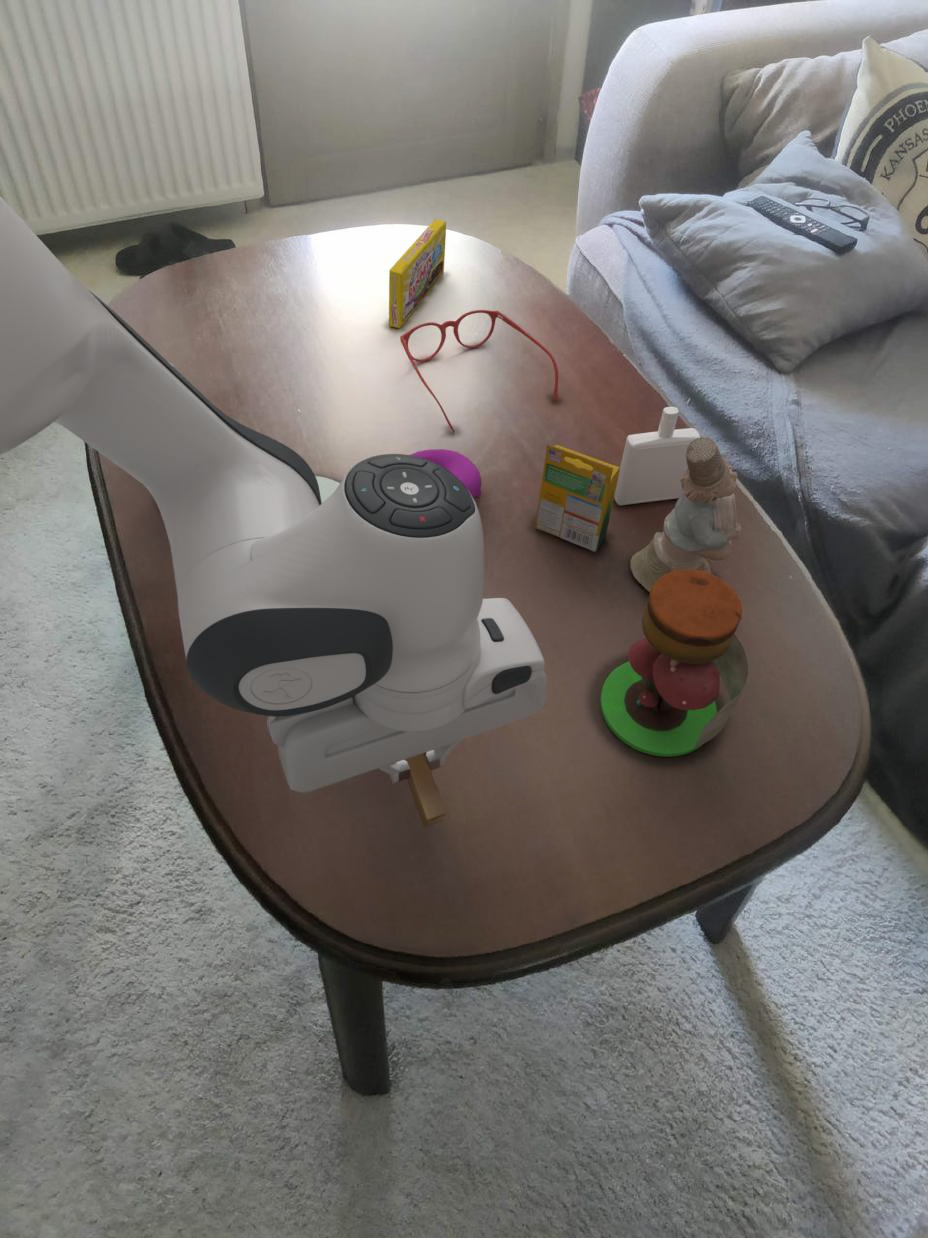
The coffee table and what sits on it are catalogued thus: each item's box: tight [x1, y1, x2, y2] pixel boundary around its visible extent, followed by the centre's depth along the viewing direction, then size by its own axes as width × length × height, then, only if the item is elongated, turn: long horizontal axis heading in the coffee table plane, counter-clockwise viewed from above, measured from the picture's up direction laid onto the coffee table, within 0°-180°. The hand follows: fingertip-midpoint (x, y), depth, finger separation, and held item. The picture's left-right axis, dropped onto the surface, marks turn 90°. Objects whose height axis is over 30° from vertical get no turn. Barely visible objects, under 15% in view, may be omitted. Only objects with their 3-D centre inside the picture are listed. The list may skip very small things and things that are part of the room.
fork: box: [405, 753, 447, 828], centre depth 71 cm, size 4×18×3 cm, turn 22°
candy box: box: [388, 218, 447, 329], centre depth 121 cm, size 16×2×8 cm, turn 159°
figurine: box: [630, 436, 742, 593], centre depth 83 cm, size 9×8×20 cm
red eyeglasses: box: [399, 309, 559, 433], centre depth 110 cm, size 17×16×5 cm
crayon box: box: [535, 444, 620, 553], centre depth 90 cm, size 7×3×12 cm, turn 61°
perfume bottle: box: [614, 406, 701, 506], centre depth 94 cm, size 8×2×12 cm, turn 102°
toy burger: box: [599, 569, 749, 758], centre depth 74 cm, size 12×13×15 cm
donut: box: [410, 448, 482, 500], centre depth 95 cm, size 10×10×5 cm
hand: (416, 767), depth 69 cm, fingers closed on fork
